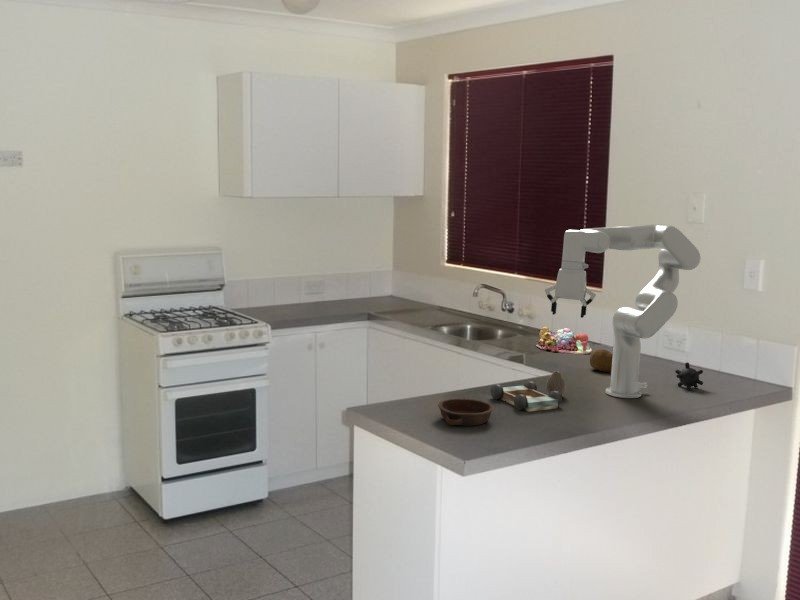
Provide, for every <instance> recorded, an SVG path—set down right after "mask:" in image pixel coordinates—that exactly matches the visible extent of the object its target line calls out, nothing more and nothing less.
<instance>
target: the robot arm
mask: <svg viewBox="0 0 800 600" xmlns="http://www.w3.org/2000/svg"><path fill="white" fill-rule="evenodd" d="M562 246H563V247H562V257H561V267H560V268H559V270H558V272H557V277H556V282H555V285H552V286H550V287H547V288H545V289H544V292H545V295H546V297H547V299H548V300H549V301H550V303H551V309H550V312H552V315H556V314H557V306H558V303H557V301H558V299H561V300H562V299H564V300H573V301H580V303H581V304H582V305H581V309H580V318H582V319H583V318H584V317H585V316H586V315H587V306H588V305H590V304H591V303H592V302H593V300H594V299H595V298H596V295H597V294H596V293H595V292H593V291H592V290H590V289H588V287H587V271H586V270H585V269H588V268H589V264H587V263H586V262H585V259H586V252H589V253H596V254H601V253H604V252H606V251H607V250H608V249H609V250H617V251H637V250H647V249H648V250H649V249H659V252H658V254H657V255H658V270H657V273H656V274H655V276H654V277H653V278H652V279H651V280H650V281H649V282H648V283H647V285H645V286H644V287H643V288H642V289H641V291H639V293H638V294H637V295H636V297H635V300H634V304H635V306H636V308H635V307H632V306H631V307H629V306H623V307H620V308H619V309H618V308H617V310H616V311H615V312H614V314H613V317H612V331H613V347H612V348H613V349H612V354H613V358H612V371H611V372H610V384H609V385H610V386H609V387H606V388H605V394H607V395H609V396H612V397H614V398H615V397H616V398H620V399H638V398H640V397H641V396H642V391H640V390H641V389H646V388H648V387H649V386H648V383H647V382H639V376H640V375H639V372H640V360H641V348H642V347H641V346H642V345H641V339H642V340H643V339H650V338H651V337H653V336H655V334H657V333H658V332H659V331H660V329H661V328H663V326H665V324H667V322H669V320H671V318H672V317H673V316H674V314H675V313H676V311H677V308H678V305H679V303H678V298H677V296H676V294H674V292H675V291H676V289H677V287H678V286H679V283H680V273H679V272H680V271H679V270H683V271H693V270H695V269H696V268H697V267H698V266H699V264H700V262H701V254H700V251H699V249H698V247H696V245H694V243H692V241H690V239H688V237H687V236H686V235H685V234H684V233H683V232H682V231H681V230H680V229H678V228H677V227H675V226H672V225H668V224H667V225H666V224H658V223H655V224H654V223H653V224H642V225H628V226H625V225H624V226H623V225H622V226H613V227H592V228H583V229H582V228H581V229H580V230H579V229H568V230H565V232H564V235H563V245H562ZM551 291H554V296H553V295H552V294H551ZM586 294H587V295H589V296H590V297H589V299H587V300H586Z"/></svg>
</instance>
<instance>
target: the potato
mask: <svg viewBox="0 0 800 600" xmlns="http://www.w3.org/2000/svg"><path fill="white" fill-rule="evenodd" d="M612 358H613V352H610V351H609V350H607V349H596V350H594V351H593V352H592V354H591V355H590V358H589V364H590V367H591V368H592V369H595V370H597V371H600V372H604V373H611V371H612Z"/></svg>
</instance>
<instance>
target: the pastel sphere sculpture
mask: <svg viewBox="0 0 800 600" xmlns="http://www.w3.org/2000/svg"><path fill="white" fill-rule="evenodd" d="M549 330H550V328H549V327H548V326H544V327H542V329H541V330H540V331H539V332H538V334H539V338H540V339H539V341H538V344H536V345H535V346H536V347H537V348H539V349H540V350H545V351H551V352H552V353H553V352H554V353H563V354H565V353H566V354H575V355H576V354H577V355H585V354H586V355H587V354H590V353H591V352H592V351H593V350H592V348H591V347H590V344H589V342H588V341H589V335H588V334H586V333H581V334H578V333H577V334H576V335H575V333H574V332H573V331H571V329H570V328H567V327H564V328H561V329H558V330H556V332H554V330H550V331H549Z"/></svg>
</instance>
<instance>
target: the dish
mask: <svg viewBox="0 0 800 600" xmlns="http://www.w3.org/2000/svg"><path fill="white" fill-rule="evenodd" d="M437 407H438V408H439V411H440V414H441V417H442V418H443V420H445V422H446V424H448V425H450V426H458V425H459V426H469V427H470V426H472V427H473V426H478V425H482V424H484V423H487V422H488V421H489V419H490V417H491V415H492V412H493V411H494V409H495V407H494V405H492V404H491V403H489V402H487V401H484V400H478V399H473V398H450V399H445V400H442V401H439V403H438V404H437Z"/></svg>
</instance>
